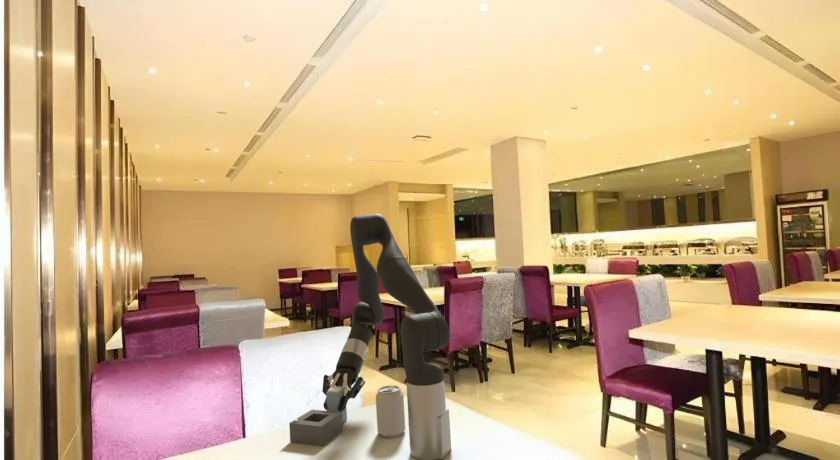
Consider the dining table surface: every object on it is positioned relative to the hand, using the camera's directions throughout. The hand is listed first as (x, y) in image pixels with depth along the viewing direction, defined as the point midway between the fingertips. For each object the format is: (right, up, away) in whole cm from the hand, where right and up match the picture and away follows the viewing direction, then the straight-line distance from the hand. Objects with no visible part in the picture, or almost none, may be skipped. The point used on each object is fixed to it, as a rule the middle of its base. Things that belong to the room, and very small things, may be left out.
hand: (333, 409), depth 131 cm
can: (+17, -3, -8) cm, 19 cm away
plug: (+1, -4, +2) cm, 5 cm away
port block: (-3, -4, -8) cm, 9 cm away
